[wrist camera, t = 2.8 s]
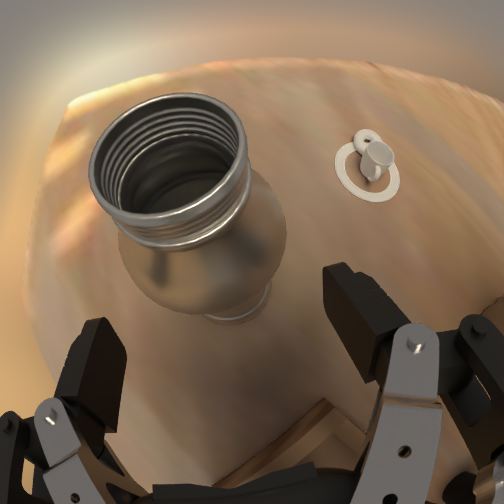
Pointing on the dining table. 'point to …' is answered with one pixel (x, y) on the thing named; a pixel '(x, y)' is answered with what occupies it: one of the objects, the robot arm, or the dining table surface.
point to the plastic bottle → (190, 207)
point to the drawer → (305, 446)
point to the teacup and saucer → (369, 165)
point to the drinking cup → (461, 490)
